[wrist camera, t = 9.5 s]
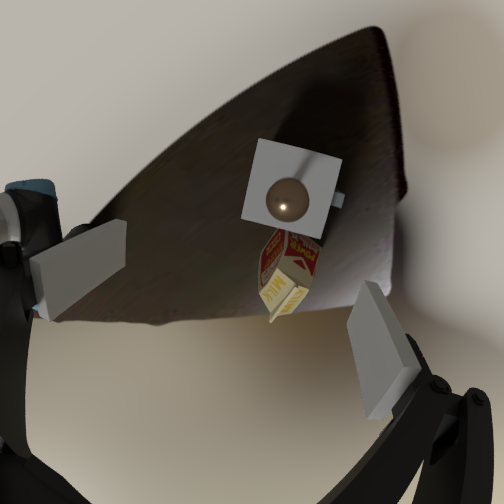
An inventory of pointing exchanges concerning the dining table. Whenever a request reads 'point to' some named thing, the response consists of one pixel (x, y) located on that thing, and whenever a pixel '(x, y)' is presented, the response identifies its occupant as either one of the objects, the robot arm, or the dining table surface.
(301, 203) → the plunger
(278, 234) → the milk carton
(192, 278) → the dining table surface
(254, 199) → the grey box with hole
